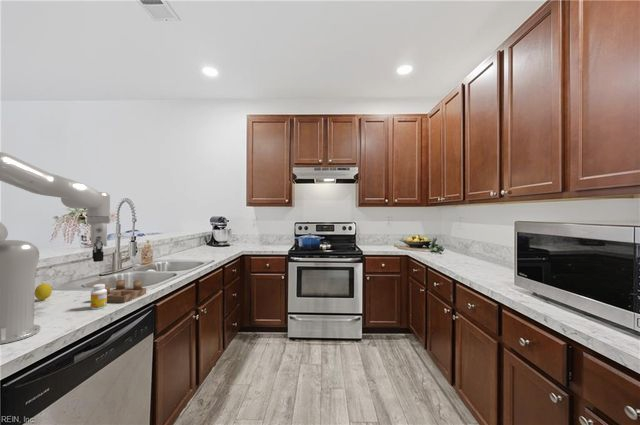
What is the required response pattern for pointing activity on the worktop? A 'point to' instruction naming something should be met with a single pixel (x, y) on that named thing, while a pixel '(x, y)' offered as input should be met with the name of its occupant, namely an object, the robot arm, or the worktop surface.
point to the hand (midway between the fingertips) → (97, 259)
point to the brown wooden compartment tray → (124, 292)
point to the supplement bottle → (98, 297)
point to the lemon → (43, 291)
